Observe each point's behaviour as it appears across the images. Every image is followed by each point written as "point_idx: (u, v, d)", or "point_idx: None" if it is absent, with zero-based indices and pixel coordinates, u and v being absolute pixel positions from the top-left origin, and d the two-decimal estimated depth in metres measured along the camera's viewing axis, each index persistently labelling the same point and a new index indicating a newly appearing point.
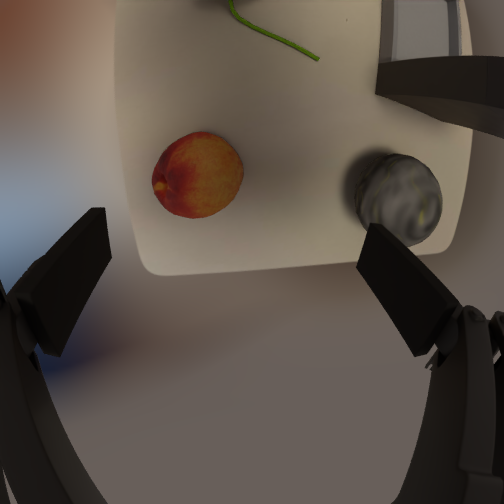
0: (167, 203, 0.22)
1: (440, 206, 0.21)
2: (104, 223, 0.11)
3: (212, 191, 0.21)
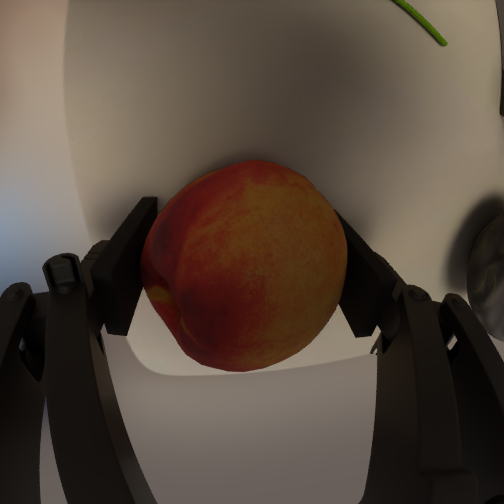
0: (184, 351, 0.09)
1: None
2: (155, 212, 0.13)
3: (302, 336, 0.08)
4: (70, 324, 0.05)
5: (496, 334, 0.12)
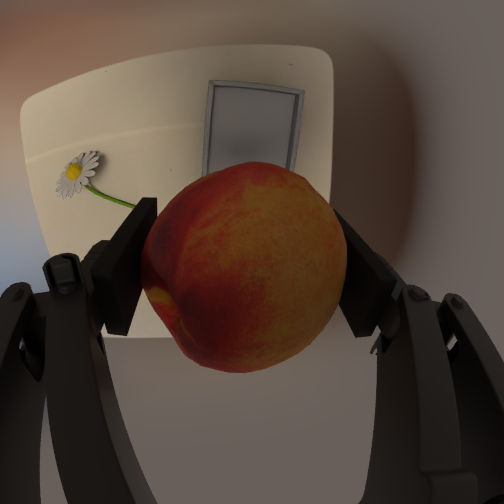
0: (183, 352, 0.09)
1: None
2: (156, 212, 0.13)
3: (302, 337, 0.08)
4: (70, 324, 0.05)
5: None
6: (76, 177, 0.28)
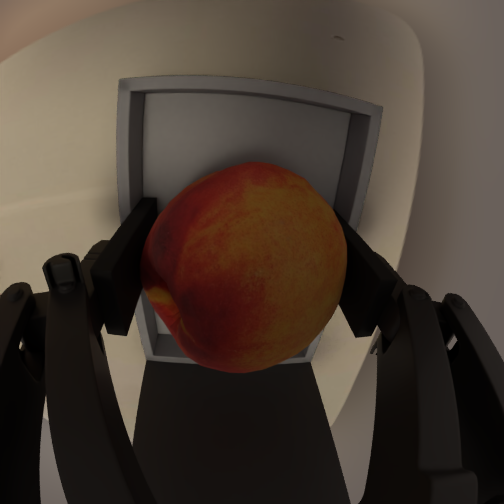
0: (183, 351, 0.09)
1: None
2: (156, 212, 0.13)
3: (302, 337, 0.08)
4: (70, 324, 0.05)
5: None
6: None
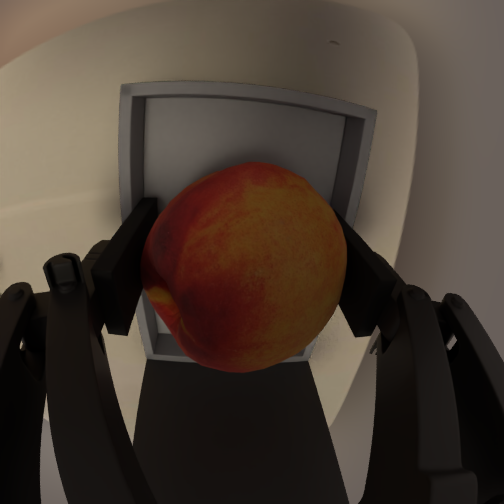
0: (184, 351, 0.09)
1: None
2: (156, 212, 0.13)
3: (302, 337, 0.08)
4: (71, 324, 0.05)
5: None
6: None
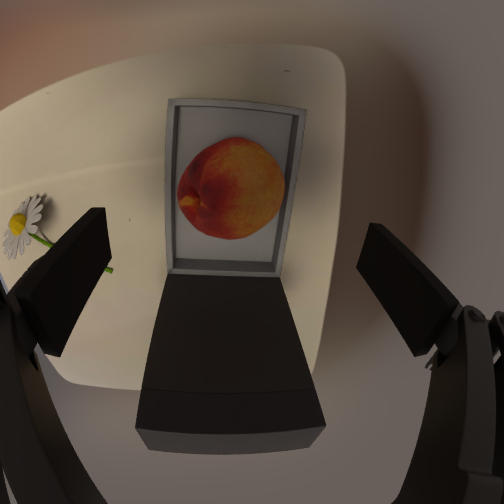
0: (199, 222, 0.19)
1: None
2: (104, 223, 0.11)
3: (256, 209, 0.18)
4: None
5: None
6: (20, 232, 0.20)
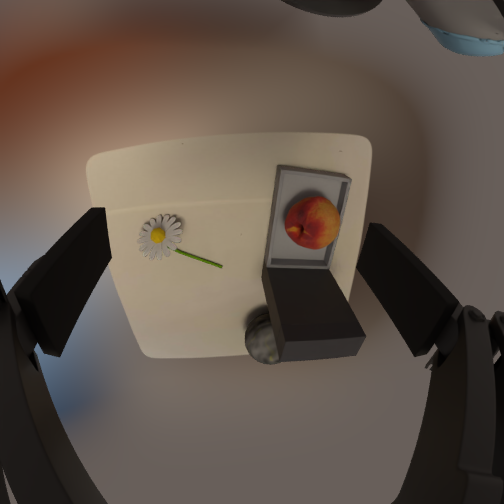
0: (303, 241, 0.37)
1: None
2: (104, 223, 0.11)
3: (331, 235, 0.37)
4: None
5: None
6: (161, 241, 0.39)
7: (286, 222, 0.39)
